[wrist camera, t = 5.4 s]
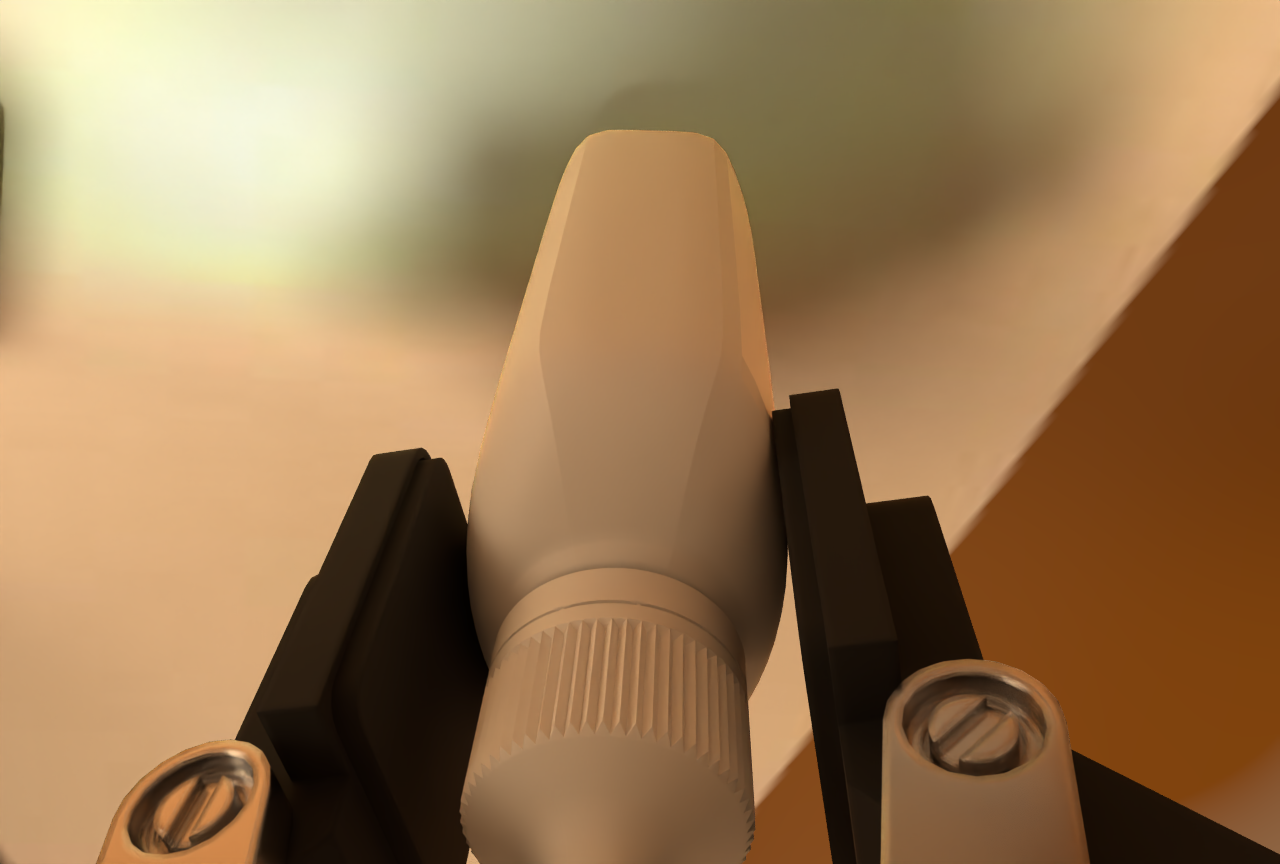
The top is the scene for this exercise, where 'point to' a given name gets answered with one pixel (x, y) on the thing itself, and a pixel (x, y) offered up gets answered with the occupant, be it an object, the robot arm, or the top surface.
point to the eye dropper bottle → (627, 523)
